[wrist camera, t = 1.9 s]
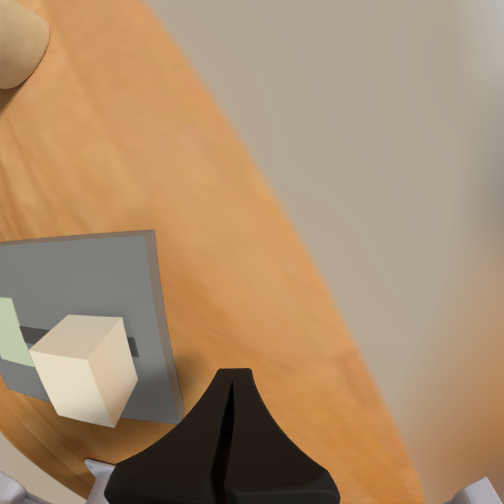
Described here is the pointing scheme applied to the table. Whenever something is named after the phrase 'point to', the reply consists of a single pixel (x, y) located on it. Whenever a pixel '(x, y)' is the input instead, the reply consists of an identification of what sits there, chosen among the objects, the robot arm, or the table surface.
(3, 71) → the candle
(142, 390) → the slider board
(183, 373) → the table surface
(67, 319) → the knob
